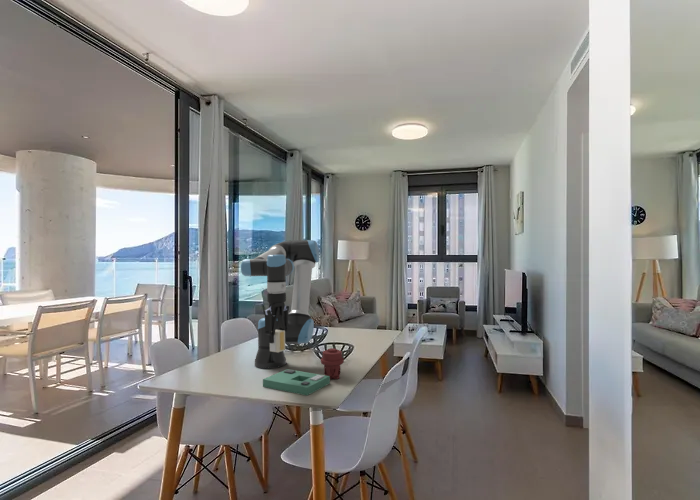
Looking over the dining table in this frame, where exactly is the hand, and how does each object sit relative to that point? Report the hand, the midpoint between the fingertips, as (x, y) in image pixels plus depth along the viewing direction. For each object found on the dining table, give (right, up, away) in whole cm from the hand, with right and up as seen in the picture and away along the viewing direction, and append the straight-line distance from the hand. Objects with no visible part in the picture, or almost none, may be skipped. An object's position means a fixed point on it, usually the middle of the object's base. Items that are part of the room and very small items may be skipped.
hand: (277, 349), depth 162 cm
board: (+8, -15, +1) cm, 17 cm away
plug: (0, 0, 0) cm, 0 cm away
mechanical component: (+22, -15, +10) cm, 29 cm away
